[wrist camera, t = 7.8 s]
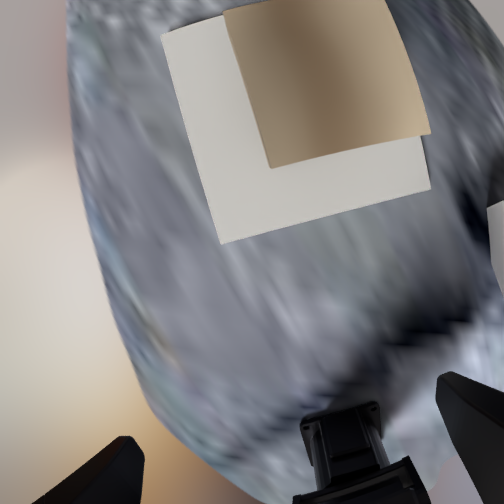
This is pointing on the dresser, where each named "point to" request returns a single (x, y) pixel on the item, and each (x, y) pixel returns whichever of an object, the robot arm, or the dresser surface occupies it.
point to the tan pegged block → (324, 76)
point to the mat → (253, 155)
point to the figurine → (497, 240)
